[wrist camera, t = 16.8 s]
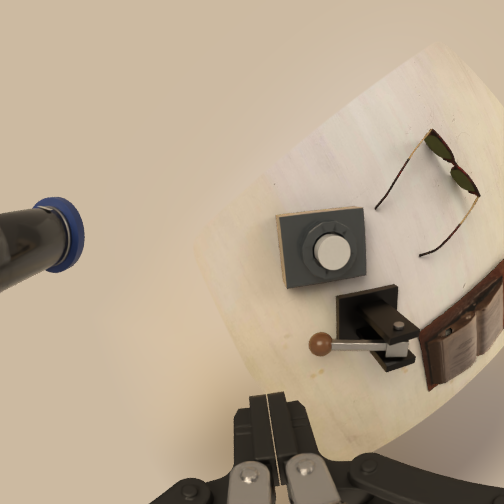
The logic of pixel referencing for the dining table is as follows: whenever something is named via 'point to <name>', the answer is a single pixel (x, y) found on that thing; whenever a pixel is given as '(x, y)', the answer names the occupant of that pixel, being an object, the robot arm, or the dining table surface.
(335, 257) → the white push button
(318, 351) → the flush lever
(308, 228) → the button housing
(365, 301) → the lever bracket
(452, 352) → the book
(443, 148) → the sunglasses
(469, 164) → the dining table surface
